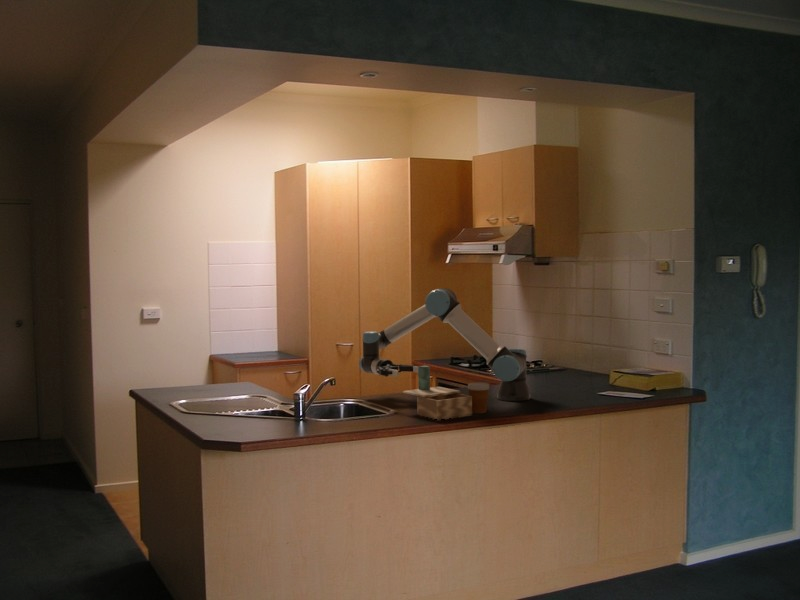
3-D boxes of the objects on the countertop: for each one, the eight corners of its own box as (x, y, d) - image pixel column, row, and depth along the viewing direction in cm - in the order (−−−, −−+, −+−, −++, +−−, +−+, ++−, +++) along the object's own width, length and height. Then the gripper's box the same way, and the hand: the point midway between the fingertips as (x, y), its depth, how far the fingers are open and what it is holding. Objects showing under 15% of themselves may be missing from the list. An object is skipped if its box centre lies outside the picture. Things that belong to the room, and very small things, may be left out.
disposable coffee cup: (472, 414, 354) (472, 386, 353) (464, 410, 363) (464, 382, 362) (493, 413, 356) (493, 384, 356) (484, 409, 365) (484, 381, 365)
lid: (438, 388, 371) (438, 363, 371) (459, 392, 359) (459, 367, 358) (402, 392, 360) (402, 367, 360) (424, 397, 348) (423, 371, 347)
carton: (451, 410, 364) (450, 391, 363) (472, 415, 352) (471, 396, 352) (417, 415, 353) (417, 396, 353) (437, 420, 342) (437, 400, 341)
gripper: (405, 372, 397) (432, 377, 380) (360, 377, 382) (386, 383, 365) (404, 356, 397) (432, 361, 379) (359, 361, 382) (386, 366, 365)
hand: (410, 372), depth 372 cm, fingers open, 13 cm apart
